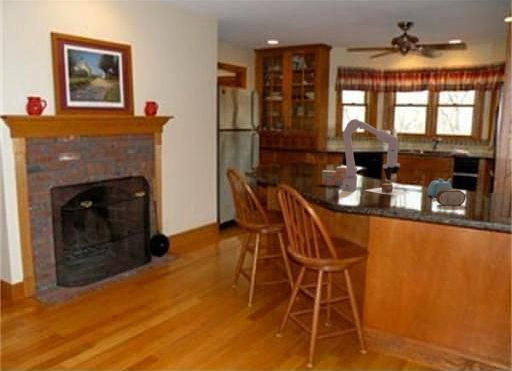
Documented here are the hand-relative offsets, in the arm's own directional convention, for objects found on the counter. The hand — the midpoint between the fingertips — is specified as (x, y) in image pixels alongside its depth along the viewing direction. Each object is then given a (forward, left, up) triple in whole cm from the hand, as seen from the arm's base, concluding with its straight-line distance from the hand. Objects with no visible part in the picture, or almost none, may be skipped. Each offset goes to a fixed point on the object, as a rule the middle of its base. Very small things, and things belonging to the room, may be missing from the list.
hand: (390, 179), depth 266 cm
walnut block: (+1, +2, -8) cm, 8 cm away
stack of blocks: (+6, +37, -9) cm, 39 cm away
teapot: (+8, -28, -9) cm, 30 cm away
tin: (-13, -38, -9) cm, 41 cm away
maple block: (0, 0, -1) cm, 1 cm away
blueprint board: (+1, +2, -9) cm, 9 cm away
